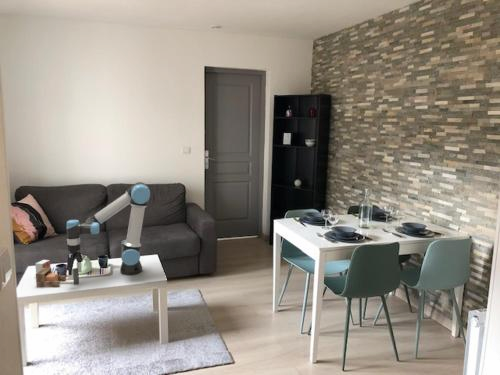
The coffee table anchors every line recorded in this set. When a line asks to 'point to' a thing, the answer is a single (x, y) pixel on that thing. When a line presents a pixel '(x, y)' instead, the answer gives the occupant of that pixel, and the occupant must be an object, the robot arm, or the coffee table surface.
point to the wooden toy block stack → (42, 283)
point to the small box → (42, 265)
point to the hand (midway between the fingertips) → (75, 275)
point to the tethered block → (55, 278)
